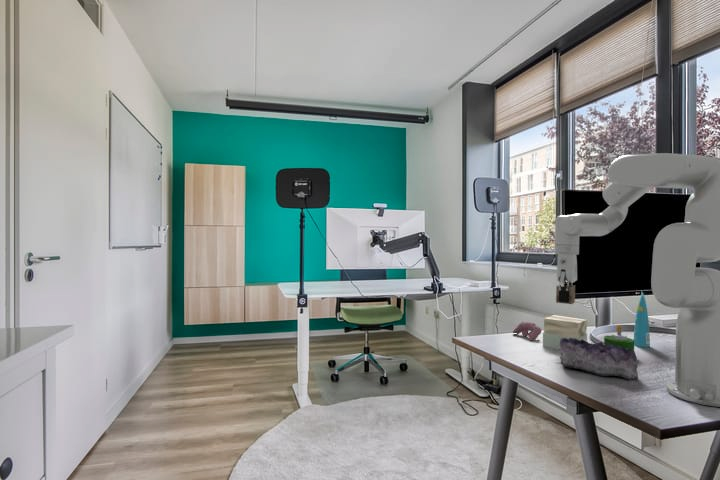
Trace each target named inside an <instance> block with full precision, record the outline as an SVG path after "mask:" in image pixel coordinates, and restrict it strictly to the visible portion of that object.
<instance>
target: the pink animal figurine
mask: <svg viewBox="0 0 720 480" xmlns="http://www.w3.org/2000/svg"><path fill="white" fill-rule="evenodd" d="M513 333H517V334H513ZM541 333H542V328H541V327H539V326H538V325H537V324H535V323H534V322H530V321H522V322H520V323H519V324H518V325H517V326H516V327H515V328H514V329H513V331H512V334H513V336H518V335H519V334H521V335H522V336H523V337H528V339H529V341H531V342H532V341H535V340H537V338H538V337H539V336H540V335H541Z"/></svg>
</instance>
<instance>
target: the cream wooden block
mask: <svg viewBox="0 0 720 480" xmlns="http://www.w3.org/2000/svg"><path fill="white" fill-rule="evenodd" d="M587 321H588V320H587V319H585V318H584V319H583V318H577V317H572V316H571V317H570V316H563V315H557V314H553V315H550V316H547V317H544V319H543V333H544V332H546V333H552V334H557V335H562V336H568V337H573V338H579V337H581V336H583V335H585V334H586V333H587V324H588V323H587Z"/></svg>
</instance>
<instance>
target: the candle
mask: <svg viewBox="0 0 720 480" xmlns="http://www.w3.org/2000/svg"><path fill="white" fill-rule="evenodd" d="M616 331H617V332H616V333H615V332H613V333H611V335H605V336H603V340H604V341H603V345H605V344H606V343H607V342H608V343H609V344H612V345H613V346H615V347H617V346H618V345H619V346H620V347H624V348H625V349H627V348H630V349H631V350H632V351H635V345H634V338H630V337H628V335H627V334H624V333H622V331H623V327H622V325H620V324H619V325H617V327H616Z"/></svg>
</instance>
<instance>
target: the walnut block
mask: <svg viewBox="0 0 720 480" xmlns="http://www.w3.org/2000/svg"><path fill="white" fill-rule="evenodd" d="M559 285H560V283H559V284H558V285H556V289H555V290H556V293H555V294H556V297H555V303H558V304H567V305H573V304H574V303H576V302H575V301H576V285H573V284H572V285H569V289H568V291H569V302H568V303H566V302H559Z"/></svg>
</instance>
